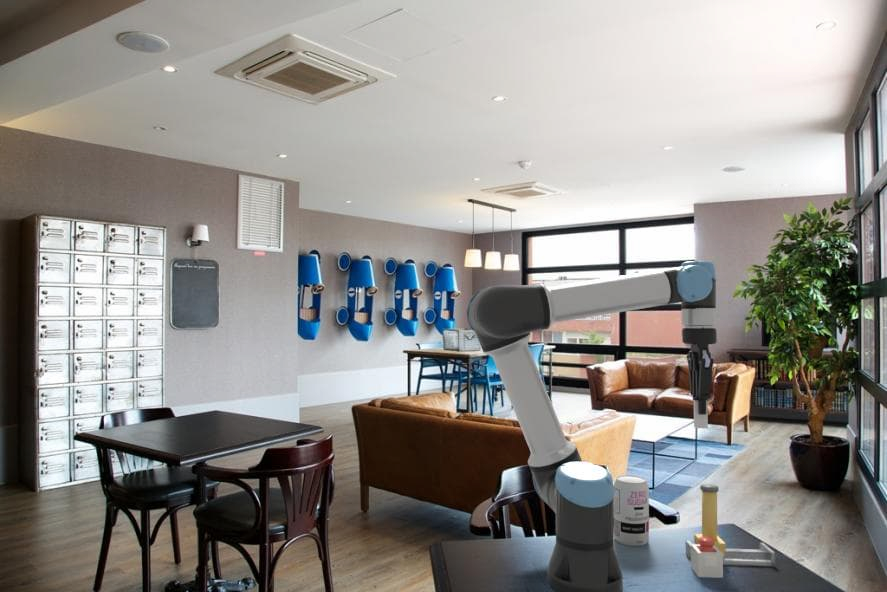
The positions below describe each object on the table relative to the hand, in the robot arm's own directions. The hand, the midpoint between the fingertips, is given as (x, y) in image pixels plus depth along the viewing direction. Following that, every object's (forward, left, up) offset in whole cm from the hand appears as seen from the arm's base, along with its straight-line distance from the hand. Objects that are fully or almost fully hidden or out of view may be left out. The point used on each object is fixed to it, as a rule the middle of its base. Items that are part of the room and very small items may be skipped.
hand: (700, 427), depth 146 cm
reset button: (-3, -12, -27) cm, 29 cm away
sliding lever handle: (0, -4, -27) cm, 28 cm away
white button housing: (-3, -12, -29) cm, 31 cm away
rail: (+5, -4, -29) cm, 30 cm away
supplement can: (-15, +6, -29) cm, 33 cm away
